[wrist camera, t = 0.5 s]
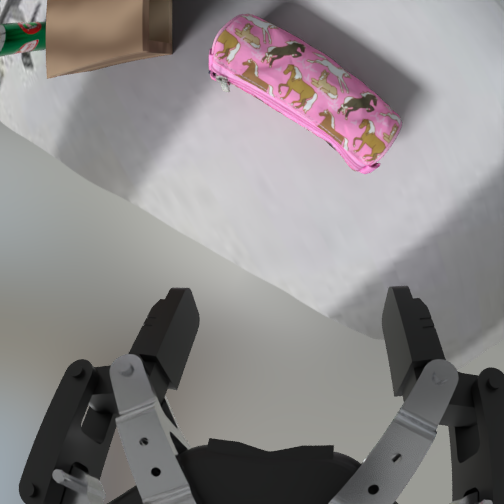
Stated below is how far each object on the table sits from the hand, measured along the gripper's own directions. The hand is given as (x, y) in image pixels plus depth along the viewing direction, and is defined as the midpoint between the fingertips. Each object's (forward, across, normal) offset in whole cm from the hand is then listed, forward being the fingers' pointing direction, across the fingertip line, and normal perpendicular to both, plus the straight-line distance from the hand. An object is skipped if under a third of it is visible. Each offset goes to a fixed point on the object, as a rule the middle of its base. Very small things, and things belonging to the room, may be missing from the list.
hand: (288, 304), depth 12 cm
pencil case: (+29, -2, -6) cm, 29 cm away
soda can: (+29, +35, -25) cm, 52 cm away
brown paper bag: (+28, +19, -24) cm, 42 cm away
